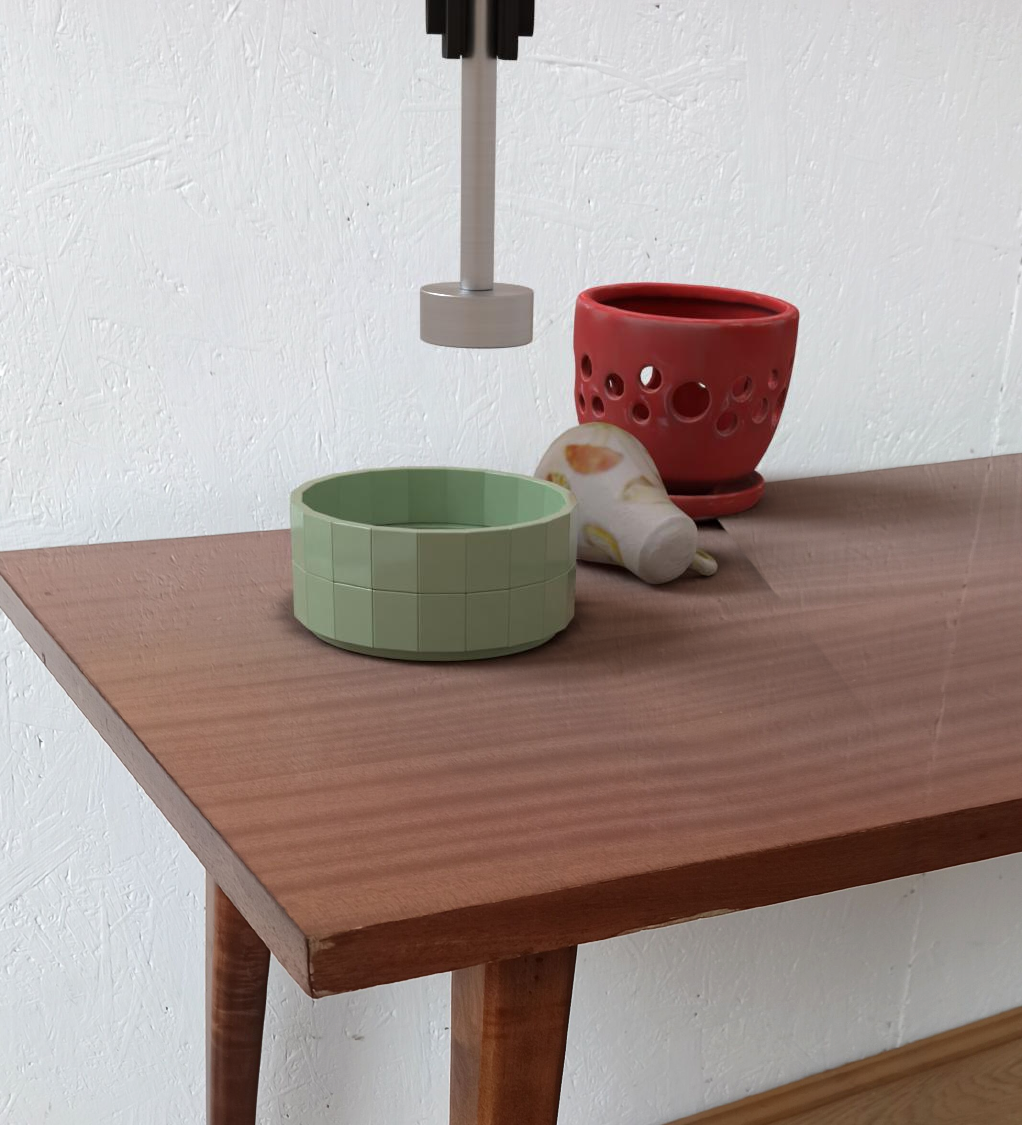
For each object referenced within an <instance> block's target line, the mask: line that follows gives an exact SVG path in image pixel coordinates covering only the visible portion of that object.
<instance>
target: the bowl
mask: <svg viewBox="0 0 1022 1125" xmlns="http://www.w3.org/2000/svg"><path fill="white" fill-rule="evenodd" d="M578 510H579V503H578V501H577V499H576V497H575V495H574V493H573V492H571V491H569V490H567V489H565V488H563V487H562V486H560V485H558V484H556V483H553V482H550V481H546V480H542V479H539V478H535V477H533V476H531V475H527V474H522V473H515V472H510V471H509V472H508V471H502V470H495V469H488V468H478V467H476V468H475V467H463V466H462V467H461V466H451V465H449V466H446V465H444V466H441V465H440V466H439V465H437V466H436V465H431V466H430V465H427V466H426V465H410V466H409V465H406V466H405V465H403V466H390V467H375V468H374V467H373V468H363V469H356V470H349V471H343V472H337V473H332V474H327V475H324V476H321V477H317V478H313V479H311V480H307V481H305V482H303V483H302V484H300V485H299V486H297V487H296V488H294V489H293V490H291V491H290V493H289V523H290V544H291V547H290V548H291V570H292V593H293V595H292V596H293V613H294V614H293V616H294V618H295V619H296V620H298V622H300V623H301V625H302V626H304V627H305V628H306V629H307V630H309V631H311V633H313V634H314V635H315V636H316V637H317V638H319V639H320V640H322V641H323V642H325V643H328V644H330V645H332V646H334V647H337V648H340V649H343V650H347V651H350V652H354V653H358V654H361V655H367V656H372V657H379V658H386V659H392V660H393V659H394V660H403V661H404V660H405V661H416V662H417V661H420V662H452V661H453V662H456V661H457V662H461V661H475V660H483V659H490V658H498V657H503V656H509V655H513V654H518V653H522V652H525V651H528V650H531V649H534V648H536V647H539V646H541V645H543V644H545V643H547V642H548V641H550V640H551V639H552V638H554V637H555V636H556V635H557V634H558V633H559V632H561V631H563V630H565V629H566V628H567V627H568V625H569V624H570V623H571V621H572V619H574V616H575V607H576V606H575V601H576V580H577V579H576V578H577V559H578V558H577V534H578Z"/></svg>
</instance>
